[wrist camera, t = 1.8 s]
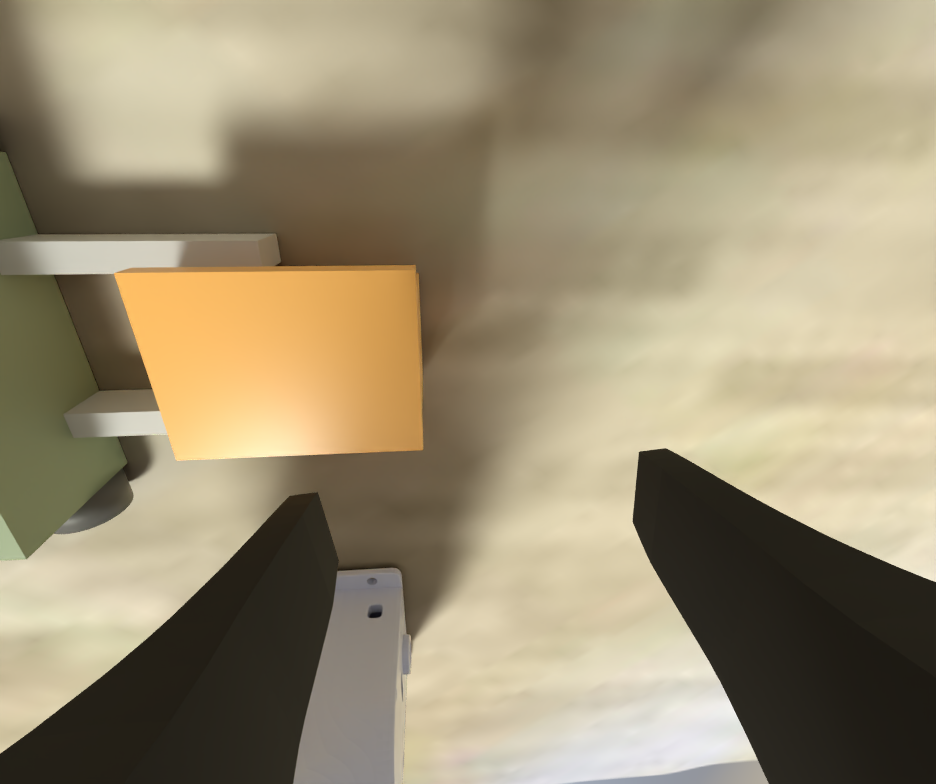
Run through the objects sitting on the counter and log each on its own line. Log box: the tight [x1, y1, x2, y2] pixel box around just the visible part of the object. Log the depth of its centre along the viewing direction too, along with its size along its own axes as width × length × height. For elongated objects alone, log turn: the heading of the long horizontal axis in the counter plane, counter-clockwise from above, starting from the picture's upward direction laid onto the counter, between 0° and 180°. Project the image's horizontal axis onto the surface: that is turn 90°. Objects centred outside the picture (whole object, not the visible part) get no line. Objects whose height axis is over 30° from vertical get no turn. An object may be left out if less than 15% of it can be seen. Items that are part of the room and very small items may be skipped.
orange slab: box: [114, 265, 423, 461], centre depth 15 cm, size 8×6×4 cm
